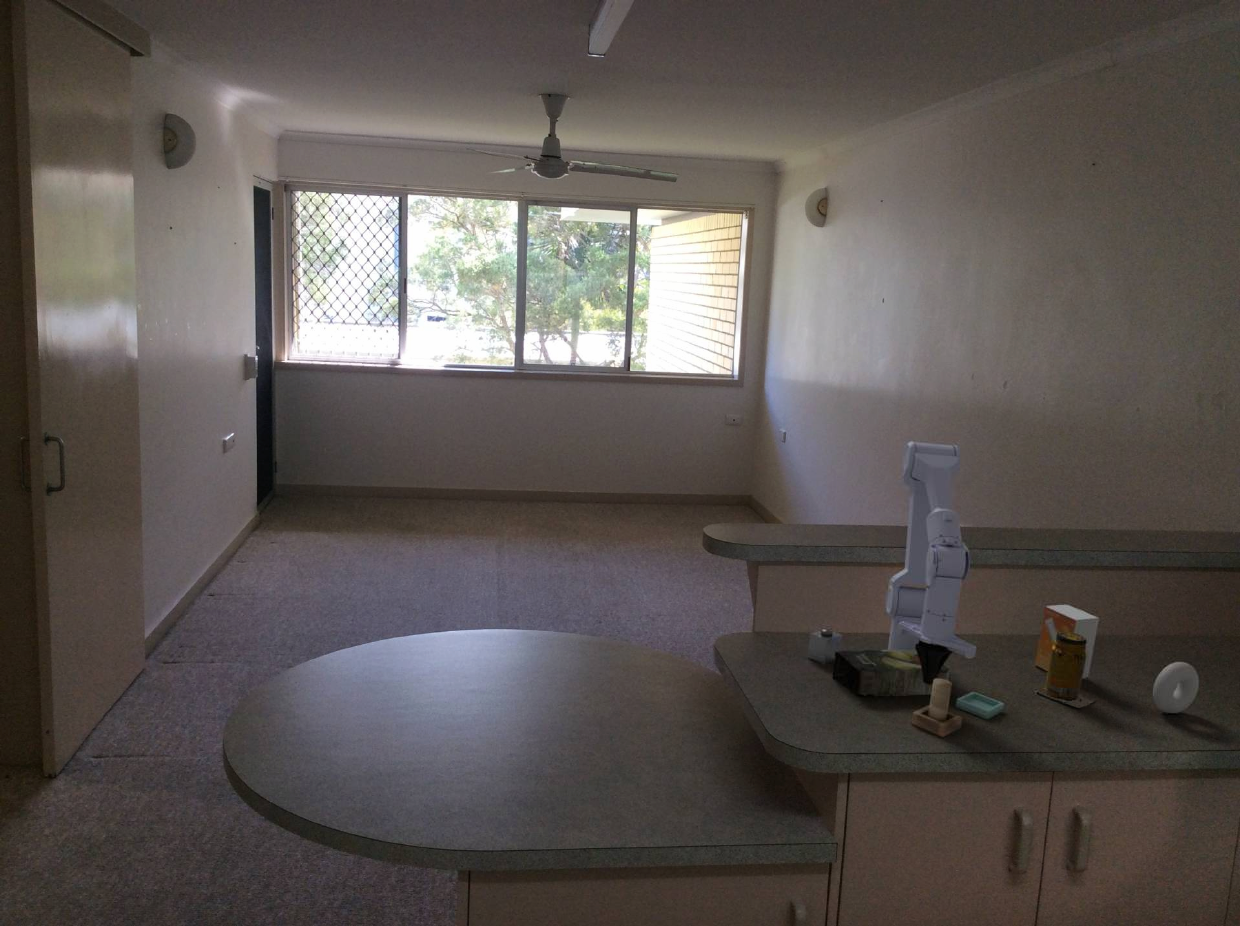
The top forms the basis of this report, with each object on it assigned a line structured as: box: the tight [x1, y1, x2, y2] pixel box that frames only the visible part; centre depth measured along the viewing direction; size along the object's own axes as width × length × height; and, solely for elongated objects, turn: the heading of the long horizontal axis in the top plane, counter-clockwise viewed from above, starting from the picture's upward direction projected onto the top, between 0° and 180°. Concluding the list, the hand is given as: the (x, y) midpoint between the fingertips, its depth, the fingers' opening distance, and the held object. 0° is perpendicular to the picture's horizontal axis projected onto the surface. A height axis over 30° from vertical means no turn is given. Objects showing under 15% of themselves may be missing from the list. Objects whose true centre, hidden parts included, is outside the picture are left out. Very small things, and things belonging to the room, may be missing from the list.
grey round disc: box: [1152, 661, 1200, 714], centre depth 185 cm, size 10×3×10 cm, turn 115°
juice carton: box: [831, 649, 950, 698], centre depth 187 cm, size 20×10×6 cm, turn 107°
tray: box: [955, 691, 1005, 720], centre depth 180 cm, size 6×6×2 cm
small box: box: [1034, 604, 1100, 678], centre depth 200 cm, size 8×6×13 cm
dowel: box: [928, 679, 953, 723], centre depth 171 cm, size 3×3×8 cm
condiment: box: [1035, 632, 1087, 701], centre depth 187 cm, size 7×8×12 cm
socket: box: [910, 704, 963, 738], centre depth 171 cm, size 6×6×2 cm
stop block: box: [806, 627, 843, 665], centre depth 197 cm, size 5×4×6 cm
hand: (929, 682), depth 181 cm, fingers closed
